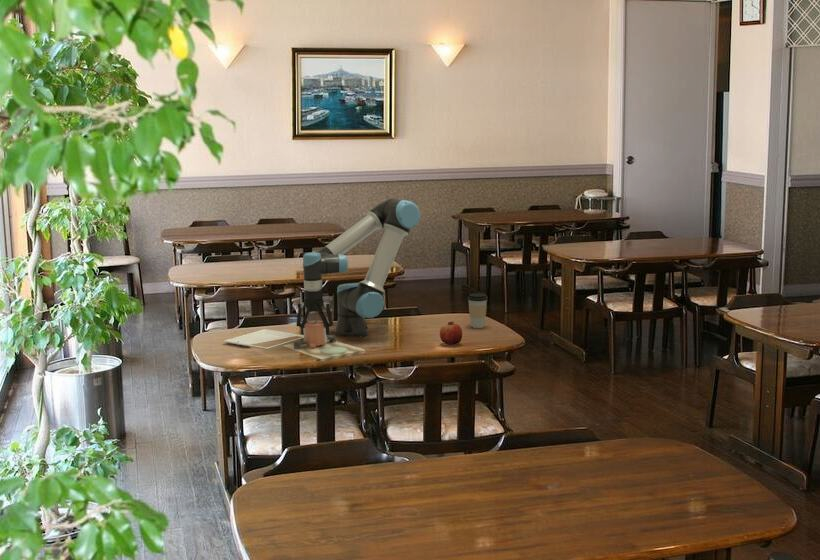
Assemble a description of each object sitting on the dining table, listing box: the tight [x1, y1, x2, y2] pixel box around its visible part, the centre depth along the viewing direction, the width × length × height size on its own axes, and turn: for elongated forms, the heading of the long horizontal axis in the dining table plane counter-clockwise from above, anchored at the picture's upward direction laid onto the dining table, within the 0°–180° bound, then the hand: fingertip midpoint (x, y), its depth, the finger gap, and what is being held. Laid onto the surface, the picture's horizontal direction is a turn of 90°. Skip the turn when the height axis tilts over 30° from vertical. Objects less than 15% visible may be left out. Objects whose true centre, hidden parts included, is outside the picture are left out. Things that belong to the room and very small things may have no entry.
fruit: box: [439, 321, 463, 346], centre depth 417 cm, size 11×10×10 cm
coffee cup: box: [467, 292, 489, 329], centre depth 449 cm, size 9×9×15 cm
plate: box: [223, 328, 304, 350], centre depth 429 cm, size 26×26×2 cm
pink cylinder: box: [304, 319, 325, 347], centre depth 415 cm, size 14×8×9 cm, turn 174°
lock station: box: [282, 334, 367, 363], centre depth 411 cm, size 22×30×8 cm
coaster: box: [321, 347, 347, 355], centre depth 405 cm, size 11×11×1 cm
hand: (315, 342), depth 416 cm, fingers closed on pink cylinder, 8 cm apart
